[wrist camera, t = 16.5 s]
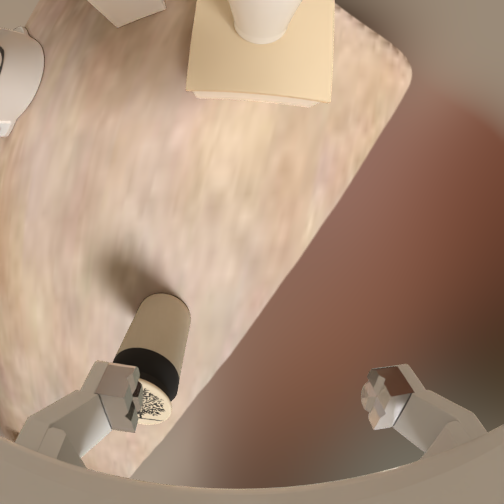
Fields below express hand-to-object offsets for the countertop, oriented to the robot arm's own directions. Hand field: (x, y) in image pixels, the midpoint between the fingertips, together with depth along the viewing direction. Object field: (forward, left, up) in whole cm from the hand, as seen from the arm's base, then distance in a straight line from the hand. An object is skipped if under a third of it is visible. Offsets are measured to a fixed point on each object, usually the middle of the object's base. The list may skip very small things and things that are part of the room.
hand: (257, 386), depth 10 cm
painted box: (+1, +20, -31) cm, 37 cm away
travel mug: (-10, -17, -31) cm, 37 cm away
